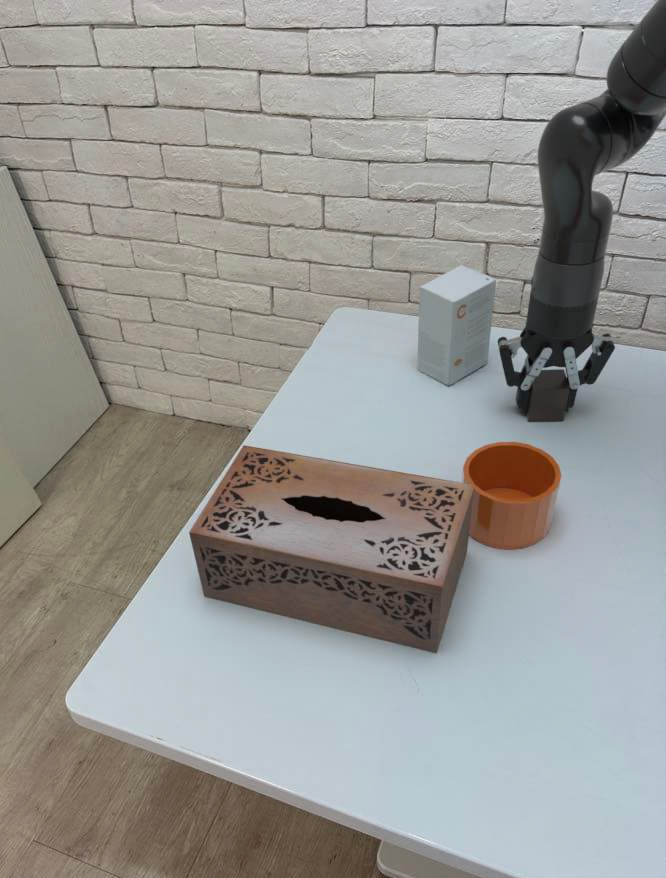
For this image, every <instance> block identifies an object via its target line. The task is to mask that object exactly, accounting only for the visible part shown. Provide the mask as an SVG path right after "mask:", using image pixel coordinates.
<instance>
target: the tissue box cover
mask: <svg viewBox="0 0 666 878" xmlns="http://www.w3.org/2000/svg"><path fill="white" fill-rule="evenodd" d="M474 486H475V485H472V484H466V483H462V482H460V481H454V480H448V479H442V478H438V477H437V478H436V477H430V476H424V475H418V474H414V473H413V474H412V473H407V472H402V471H395V470H391V469H384V468H379V467H372V466H368V465H360V464H355V463H349V462H343V461H337V460H332V459H325V458H320V457H315V456H309V455H302V454H297V453H291V452H286V451H279V450H273V449H269V448H262V447H256V446H251V445H245V444H243V445H242V447H241V448H240V450H239V452H238V454H237V455H236V457H235V458H234V459H233V461H232V463H231V464H230V466H229V467H228V470H226V472H225V474H224V476H223V477H222V479H221V481H220V482H219V484H218V485H217V487H216V488H215V490H214V491H213V493H212V495H211V496H210V497H209V499H208V501H207V503H206V504H205V506H204V508H203V509H202V511H201V512H200V513H199V515H198V516H197V519H196V521H195V522H194V523H193V525H192V526H191V528H190V530H189V531H188V534H189V538H190V542H191V543H190V544H191V547H192V551H193V555H194V559H195V560H194V561H195V563H196V568H197V572H198V576H199V580H200V585H201V590H202V594H203V597H206V598H210V599H213V600H216V601H217V600H218V601H222V602H226V603H231V604H234V605H237V606H242V607H247V608H250V609H254V610H259V611H262V612H267V613H271V614H275V615H279V616H284V617H287V618H291V619H295V620H299V621H304V622H306V623H307V622H308V623H312V624H315V625H320V626H324V627H328V628H332V629H336V630H341V631H344V632H349V633H353V634H357V635H361V636H365V637H369V638H372V639H373V638H374V639H377V640H380V641H381V640H382V641H386V642H389V643H394V644H398V645H402V646H406V647H408V648H409V647H410V648H415V649H419V650H422V651H426V652H431V653H434V654H437V653H438V650H439V647H440V644H441V640H442V638H443V633H444V630H445V627H446V624H447V620H448V617H449V613H450V610H451V607H452V604H453V601H454V597H455V594H456V591H457V587H458V584H459V580H460V577H461V574H462V571H463V567H464V563H465V560H466V557H467V554H468V547H469V538H470V535H469V530H470V521H471V512H472V504H473V495H474Z"/></svg>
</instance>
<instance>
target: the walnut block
mask: <svg viewBox="0 0 666 878" xmlns="http://www.w3.org/2000/svg"><path fill="white" fill-rule="evenodd" d="M530 389H531V393H530V400H529V406H528V412H527V413H525V416H526V420H527V422H528V423H536V422H537V423H540V422H541V423H543V422H544V423H545V422H563V421H564V418H565V415H566V412H565V409H566V404H567V399H568V395H569V390H570V389H569V385H568V382H567V374H566V370H565V368H561V369H559V368H557V369H542V370H541V372H540V374H539V376H538V377H536V378H535V380H534V382H533V384H532V385H531V387H530Z"/></svg>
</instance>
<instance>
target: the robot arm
mask: <svg viewBox="0 0 666 878" xmlns="http://www.w3.org/2000/svg"><path fill="white" fill-rule="evenodd" d="M606 87H607V89H606V90H605V91H604V92H602V93H601V94H600V95H598V96H596V97H593V98H591V99H588V100H585V101H582V102H579V103H576V104H573V105H570V106H568V107H566V108H564V109H561V110H560V111H558V112H557V113H555V114H554V115H553V116H552V117H551V118H550V119H549V121H548V122H547V124H546V126H545V127H544V130H543V132H542V134H541V137H540V140H539V143H538V149H537V169H538V176H539V184H540V192H541V201H542V206H543V207H542V208H543V214H544V218H543V222H542V228H541V235H540V243H539V249H538V254H537V257H536V261H535V263H534V267H533V268H534V269H533V274H532V277H531V280H530V294H529V301H528V308H527V315H526V322H525V326H524V328H523V330H522V331H521V333H520V334H519V336H517V337H513V338H509V339H508V338H507V337H505V336H501V337H499V338H498V339H497V346H498V352H499V356H500V359H501V366H502V369H503V374H504V378H505V383H506V385H507V387H516V395H515V402H516V407H517V409H518V410H520V412H521V414H526V413H527V412H528V406H529V400H530V393H531V389H530V387H531V385H532V384H533V382H534V380H535V378H536V377H538V376H539V374H540V372H541V370H543V369H547V368H551V367H556V368H564V370H565V375H566V378H567V382H568V385H569V389H570V390H569V395H568V399H567V404H566V409H565V413H568V412H569V409H573V408H574V406H575V402H576V398H577V393H578V388H580V387H581V386H583V385H585V384H586V385H589V386H592V385H593V384H595V383H596V381H597V380H598V378H599V376H600V375H601V373H602V371H603V370H604V368H605V366H606V364H607V363H608V361H609V359H610V358H611V356H612V355H613V353H614V352H615V349H616V345H615V343H614V340H613V338H612V335H611V334H610V333H603V334H602V335H599V334H594V333H593V325H594V321H595V316H596V310H597V307H598V302H599V298H600V297H599V296H600V292H601V288H602V283H603V277H604V274H605V260H606V252H607V247H608V243H609V238H610V234H611V228H612V223H613V218H614V217H613V216H614V207H613V202H612V200H611V199H610V198H609V196H607V195H605V194H604V193H602V192H600V191H596V190H593V183H594V179H595V176H597V175H599V174H602V173H605V172H606V171H609V170H612V169H614V168H617V167H619V166H621V165H623V164H625V163H626V162H628V161H630V160H631V159H632V158H633V157H634V156H635V155H637V153H639V152H640V151H641V150H642V149H643V148H644V147H645V146H646V145H647V144H648V142H649V141H650V140H651V138H652V137H653V135H654V134H655V133H656V131H657V130H658V128H659V126H660V125H661V123H662V121H663V120H664V118H666V0H656V1H655V2H654V4H653V5H652V7H651V8H650V9H649V10H648V11H647V12H646V14H645V15H644V16H643V18H642V19H641V20H640V21H639V23H638V24H637V25H636V26H635V28H634V29H633V30H632V32H631V33H630V34H629V35H628V36H627V38H626V39H625V40H624V42H623V43H622V44H621V46H620V47H619V48H618V50H617V51H616V52H615V54H614V55H613V57H612V59H611V61H610V63H609V64H608V67H607V72H606ZM590 347H591V351H592V352H591V353H590V355H589V357H588V359H587V360H586V362H585V364H584V366H583V367H582V368H581V369H580V370H579V369H578V364H577V359H579V357H580V356H581V355H582V354H583V353H584V352H585V351H586V350H588V349H589V348H590ZM520 348H522V349H523V350H524V352H525V353H526V354H527V355H526V357H525V359H524V364H523V366H522V368H521V370H520V372H519V371H516V370H515V367H514V363H513V359H515V357H516V356H517V355H518V350H519V349H520Z"/></svg>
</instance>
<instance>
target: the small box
mask: <svg viewBox="0 0 666 878" xmlns="http://www.w3.org/2000/svg"><path fill="white" fill-rule="evenodd" d="M496 284H497V279H496V278H494V277H491V276H490V275H487V274H485V273H483V272H481V271H480V272H479V271H477V270H475V269H473V268H470V267H468V266H465V265H462V264H460V265H458V266H456V267H454V268H453V269H451V270H449V271H447V272H445V273H443V274H441V275H440V276H437V277H436V278H433V279H431V280H430V281H427V282H426V283H424V284H422V285H420V286H419V294H418V295H419V298H418V300H419V301H418V329H417V331H418V332H417V361H416V362H417V364H416V365H417V366H416V368H417V371H419V372H421V373H422V374H424V375H427V376H428V377H430V378H432V379H434V380H436V381H437V382H439V383H441V384H443V385H445V386H447V387H450V386H452V385H453V384H455V383H457V382H458V381H460V380H462V379H463V378H465V377H466V376H468V375H470V374H472V373H473V372H475V371H477V370H479V369H480V368H481V367H483V366H485V365H487V364H488V362H489V351H490V341H491V334H492V333H491V331H492V323H493V314H494V304H495V294H496Z"/></svg>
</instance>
